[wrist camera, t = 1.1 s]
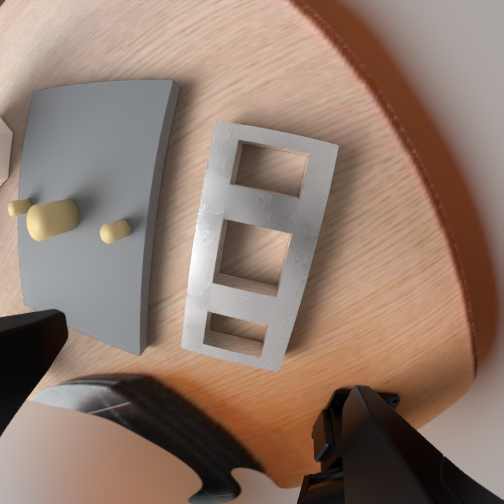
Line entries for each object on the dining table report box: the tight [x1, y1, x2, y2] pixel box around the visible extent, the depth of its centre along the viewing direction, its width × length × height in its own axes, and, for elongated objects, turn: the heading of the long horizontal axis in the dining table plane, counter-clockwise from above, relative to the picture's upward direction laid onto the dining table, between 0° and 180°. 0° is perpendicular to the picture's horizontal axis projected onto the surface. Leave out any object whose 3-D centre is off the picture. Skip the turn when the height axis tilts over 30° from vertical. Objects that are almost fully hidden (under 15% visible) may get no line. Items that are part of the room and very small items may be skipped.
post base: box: [8, 80, 181, 356], centre depth 17 cm, size 14×20×5 cm
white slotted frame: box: [181, 121, 339, 372], centre depth 18 cm, size 15×7×2 cm, turn 169°
